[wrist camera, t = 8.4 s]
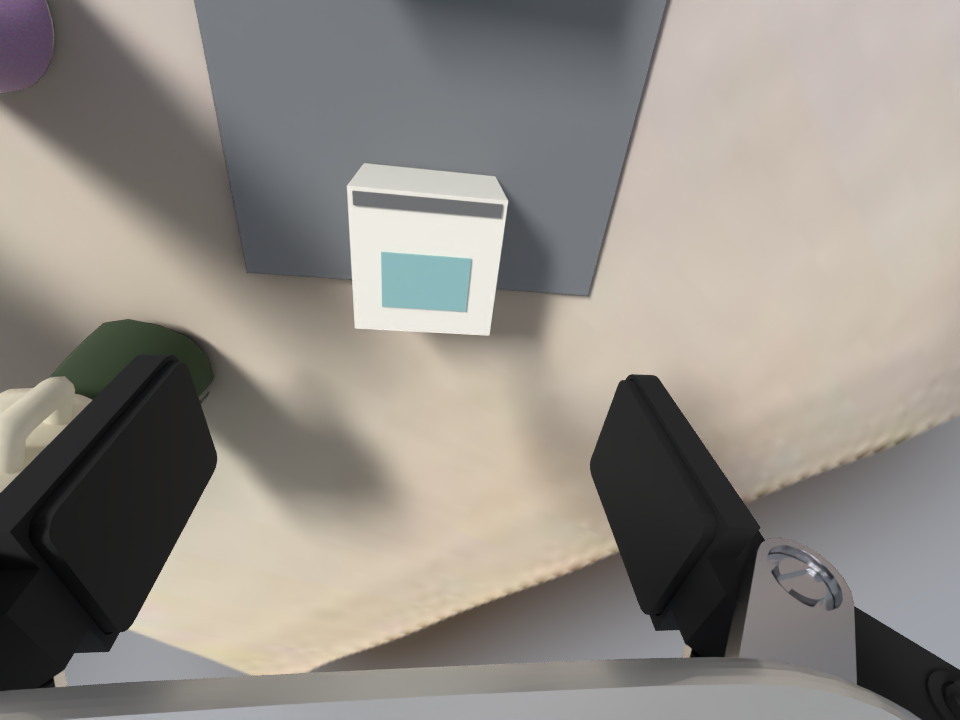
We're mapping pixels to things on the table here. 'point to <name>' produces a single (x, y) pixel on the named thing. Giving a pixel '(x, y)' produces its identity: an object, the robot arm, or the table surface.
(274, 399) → the table surface
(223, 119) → the mat
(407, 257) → the white box
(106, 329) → the character mug
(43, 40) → the beverage can
